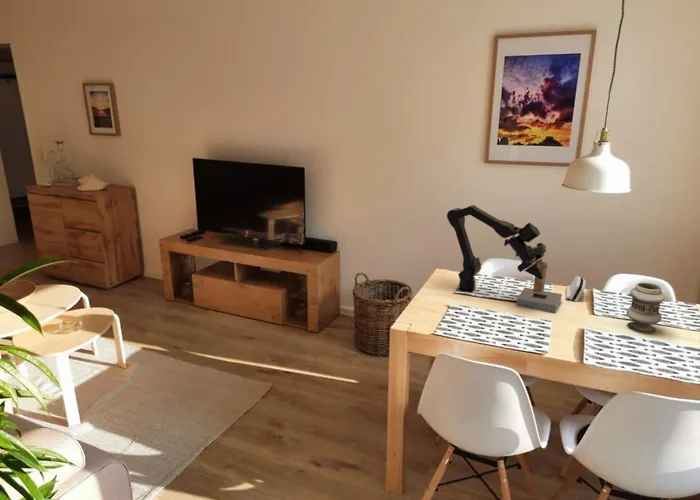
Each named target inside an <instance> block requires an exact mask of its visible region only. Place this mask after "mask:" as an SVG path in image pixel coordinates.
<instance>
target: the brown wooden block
mask: <svg viewBox="0 0 700 500" xmlns="http://www.w3.org/2000/svg"><path fill="white" fill-rule="evenodd" d="M537 268H538V270H539V272H540V273H541V275H542V277H543V279H539V278H537V277H535V276H534V280H533V288H532V289H533V292H537V293H542V292H543V291H545V284H546V277H547V271H548V262H545V261H542V262H541V261H539V262H537Z"/></svg>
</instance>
